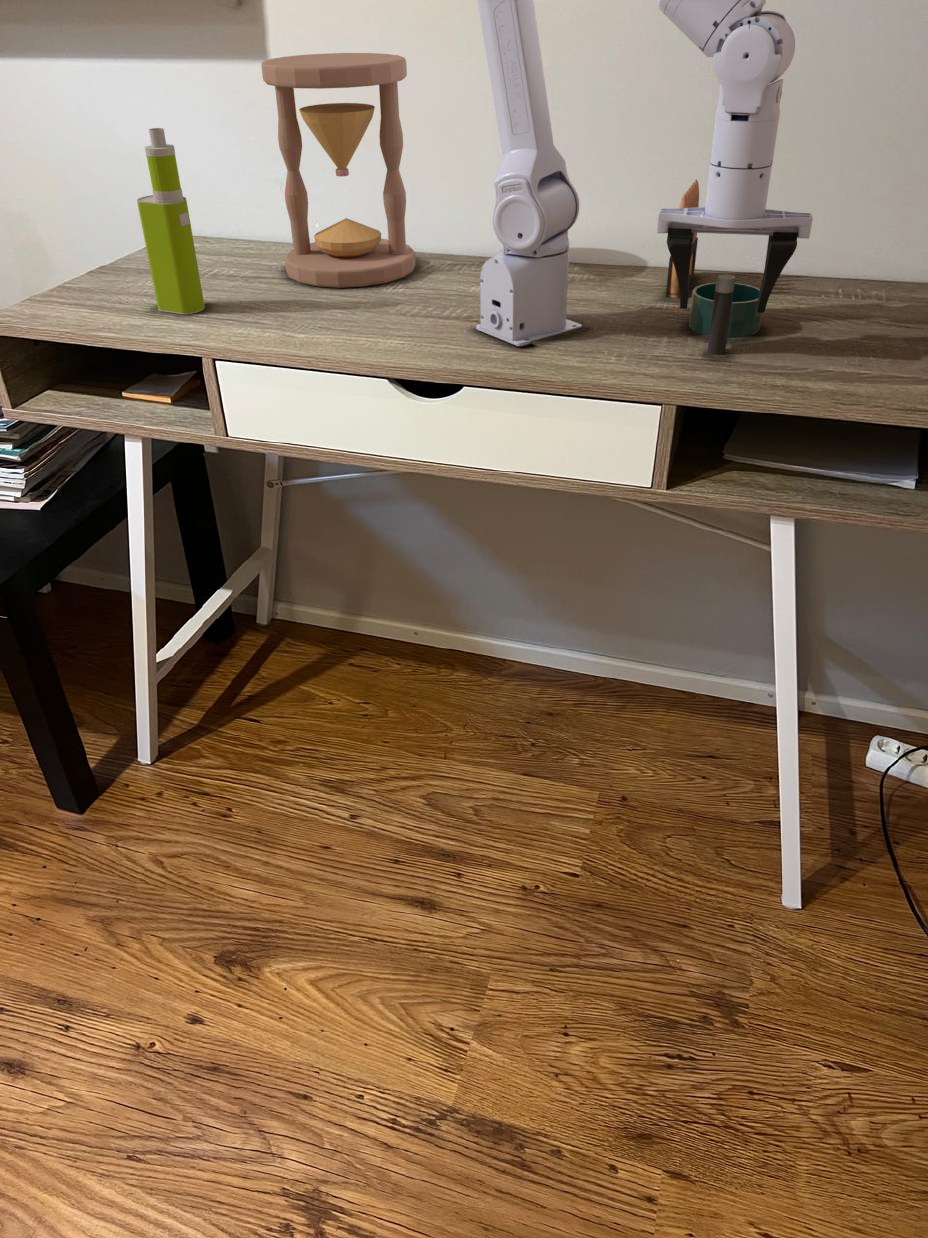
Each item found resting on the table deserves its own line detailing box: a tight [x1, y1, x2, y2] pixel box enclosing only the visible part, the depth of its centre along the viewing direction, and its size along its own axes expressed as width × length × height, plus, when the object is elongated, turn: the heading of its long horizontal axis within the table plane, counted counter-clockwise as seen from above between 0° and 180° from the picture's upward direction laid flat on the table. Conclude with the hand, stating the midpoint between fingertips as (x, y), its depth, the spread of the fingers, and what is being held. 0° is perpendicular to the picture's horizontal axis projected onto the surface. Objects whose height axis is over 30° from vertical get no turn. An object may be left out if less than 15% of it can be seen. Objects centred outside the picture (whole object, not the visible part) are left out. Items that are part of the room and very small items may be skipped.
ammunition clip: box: [665, 179, 700, 299], centre depth 119 cm, size 11×2×12 cm, turn 160°
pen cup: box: [688, 282, 763, 339], centre depth 108 cm, size 8×8×4 cm
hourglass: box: [260, 52, 417, 289], centre depth 126 cm, size 18×18×25 cm
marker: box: [707, 273, 736, 356], centre depth 100 cm, size 2×2×8 cm
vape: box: [136, 127, 206, 315], centre depth 114 cm, size 4×6×20 cm, turn 64°
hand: (721, 307), depth 100 cm, fingers open, 7 cm apart
